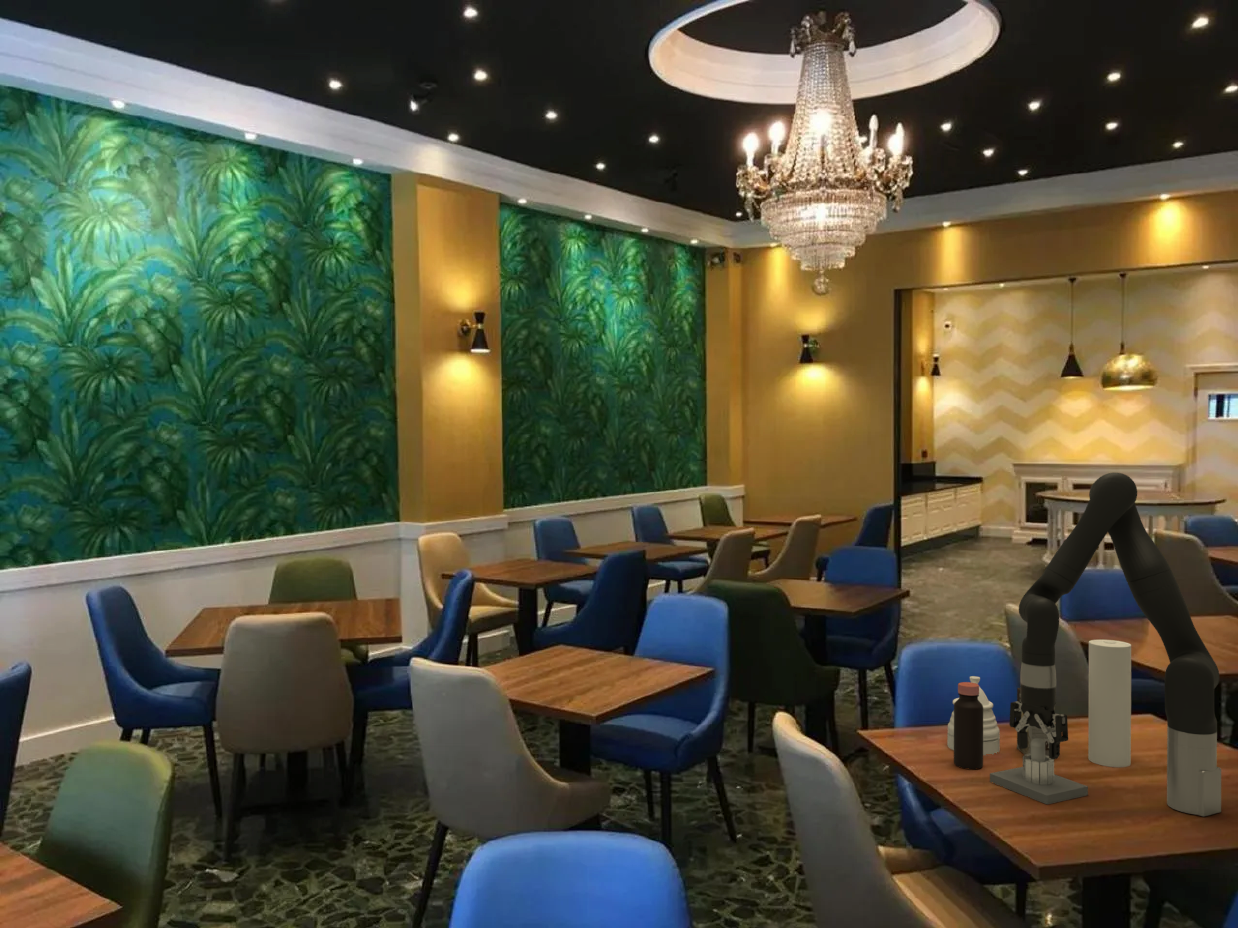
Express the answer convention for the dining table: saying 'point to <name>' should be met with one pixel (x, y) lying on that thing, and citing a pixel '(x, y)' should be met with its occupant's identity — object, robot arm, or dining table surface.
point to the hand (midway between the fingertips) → (1037, 753)
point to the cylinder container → (1109, 703)
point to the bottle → (968, 727)
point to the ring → (1038, 770)
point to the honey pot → (989, 724)
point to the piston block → (1042, 793)
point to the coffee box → (1034, 734)
